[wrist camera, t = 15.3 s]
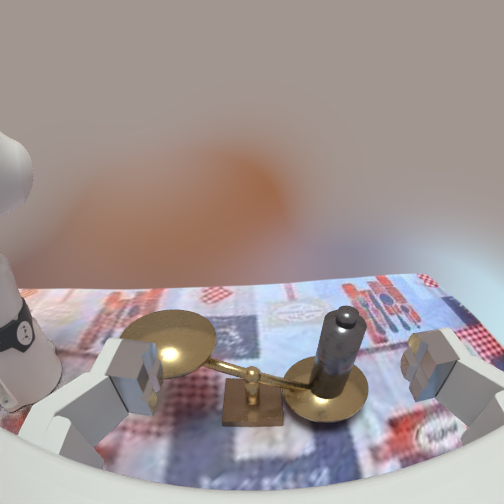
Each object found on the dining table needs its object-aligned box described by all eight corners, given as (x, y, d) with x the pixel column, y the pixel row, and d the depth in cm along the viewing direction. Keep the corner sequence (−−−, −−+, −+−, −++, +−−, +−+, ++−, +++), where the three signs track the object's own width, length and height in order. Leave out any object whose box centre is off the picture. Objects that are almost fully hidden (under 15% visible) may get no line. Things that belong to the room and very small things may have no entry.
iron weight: (311, 399, 33) (331, 326, 28) (306, 372, 38) (322, 299, 32) (347, 397, 33) (375, 325, 28) (339, 370, 38) (362, 299, 32)
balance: (136, 428, 32) (103, 369, 27) (154, 369, 43) (135, 308, 37) (370, 427, 31) (400, 366, 26) (351, 367, 42) (368, 305, 37)
